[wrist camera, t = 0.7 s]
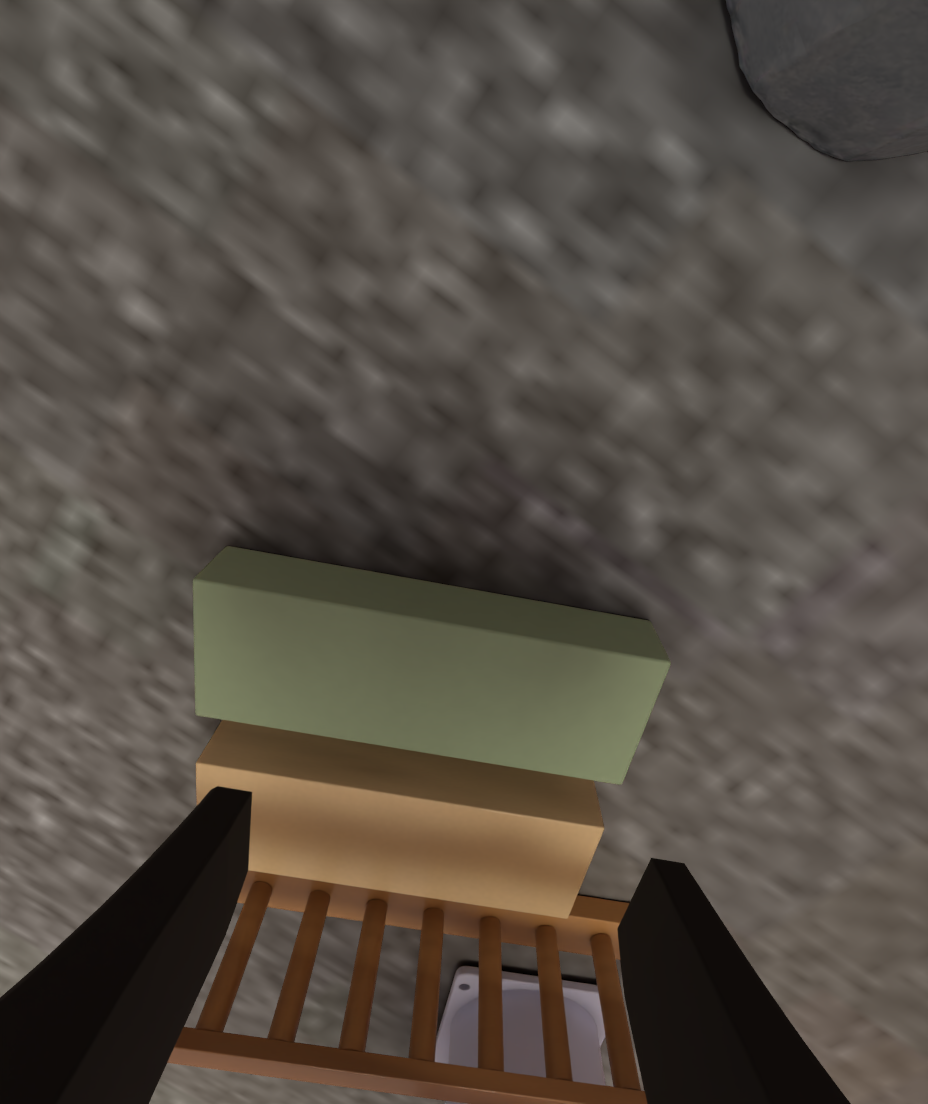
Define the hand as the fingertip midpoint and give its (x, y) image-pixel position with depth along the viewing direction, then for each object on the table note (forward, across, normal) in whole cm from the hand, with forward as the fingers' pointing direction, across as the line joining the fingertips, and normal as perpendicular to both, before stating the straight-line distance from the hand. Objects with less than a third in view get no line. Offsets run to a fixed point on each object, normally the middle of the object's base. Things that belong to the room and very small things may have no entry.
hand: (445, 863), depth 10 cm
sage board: (+9, +1, +2) cm, 10 cm away
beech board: (+10, +1, +9) cm, 13 cm away
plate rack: (+10, 0, +14) cm, 17 cm away
